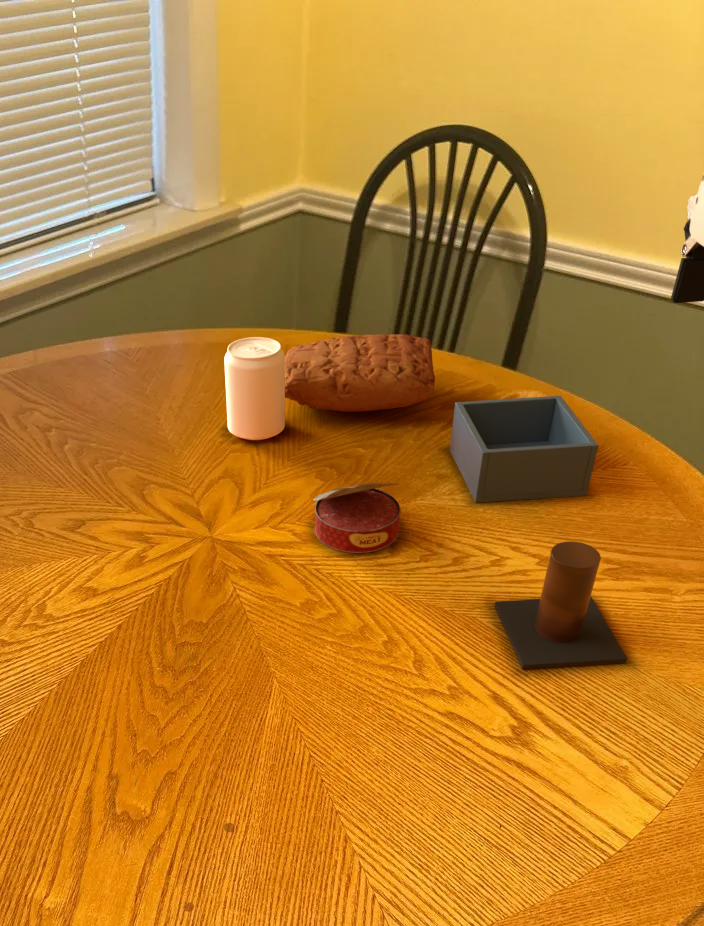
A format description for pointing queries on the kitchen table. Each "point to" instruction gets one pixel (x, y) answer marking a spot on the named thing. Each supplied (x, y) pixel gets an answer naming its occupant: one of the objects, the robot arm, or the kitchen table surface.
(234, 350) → the beverage can
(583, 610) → the brown cylinder
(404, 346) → the inscribed clay slab
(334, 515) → the canned food
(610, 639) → the mat
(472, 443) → the bin
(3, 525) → the kitchen table surface
